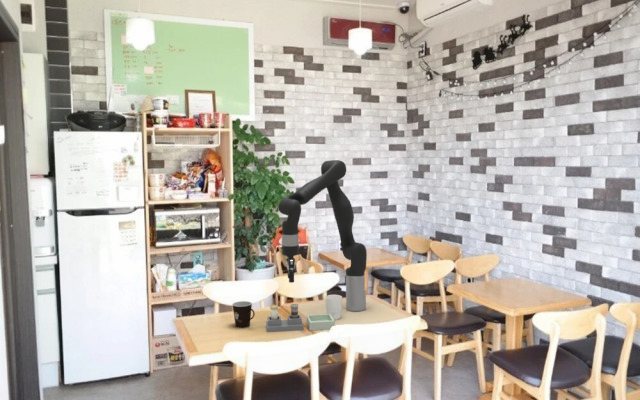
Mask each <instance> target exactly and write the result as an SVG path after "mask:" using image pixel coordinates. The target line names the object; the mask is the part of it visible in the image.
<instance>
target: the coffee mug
mask: <svg viewBox="0 0 640 400" xmlns="http://www.w3.org/2000/svg"><path fill="white" fill-rule="evenodd" d="M252 306H253V303H252V302H251V301H245V300H244V301H243V300H241V301H236V302H235V301H234V302H233V303H232V311H233V318H234V324H235V328H238V327H239V328H238V329H246V328H249V327H250V326H251V320H252V319H254V317H255V316H256V313H255V310H254V309H253V308H252ZM251 316H252V317H251ZM245 327H246V328H245Z"/></svg>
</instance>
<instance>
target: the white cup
mask: <svg viewBox="0 0 640 400" xmlns="http://www.w3.org/2000/svg"><path fill="white" fill-rule="evenodd" d="M324 298H325V312H326V314H331V316H332V317H333V319H334V321H336V320H339V319H341V318H342V310H343V309H342V308H343V296H342V295H339V294H329V295H326V296H325V297H324Z"/></svg>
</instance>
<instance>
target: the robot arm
mask: <svg viewBox="0 0 640 400" xmlns="http://www.w3.org/2000/svg"><path fill="white" fill-rule="evenodd" d="M320 172H321V175H319V176H318V177H316V178H314V179H312V180H310V181H308V182H307V183H305V184H304V185H302V186H301V187H300V188H299V189H297V191H295V192H293V193H291V194H288V195H287V196H286V197H284V198H282V200H281V201H280V202H279V204H278V207H277V208H278V211H279V213H281V214H282V215H287V218H286V220H284V221H283V222H282V225H281V254H282V256H284V257H285V256H286V258H285V263H286V265H285V267H286V270H287V278H288V283H293V284H294V283H295V273H296V270H295V269H296V258H294V256H298V255H299V254H300V251H299V250H300V240H299V238H300V237H299V222H300V217H301V214H302V205H306V204H308V203H309V202H310V201H312V199H314V198H315V197H316V196H317V195H318V194H319V193H321V192H322V191H324V190H325V189H326V190H327V192H328V196H329V200H330V204H331V206H332V211H333V215H334V219H335V222H336V226H337V229H338V234H339V239H340V245H341V251H342V254H343V257H344V258H345V259H346V260H349V261H350V266H349V267H347V268H346V269H345V305H346V306H345V309H346V310H347V311H349V312H362V311H365V310H367V296H366V294H367V292H366V289H365V287H366V284H365V283H366V280H365V278H366V277H365V274H366V273H365V272H366V269H367V261H368V260H367V255H368V254H367V253H368V251H367V248H366V246H365V245H364V244H363V243H360V242H357V241H355V237H354V234H353V233H354V232H353V225H354V218H355V214H354V210H353V205H352V203H351V201H350V200H349V198H348V196H347V195H346V193H345V192H344V191H343V190H342V188H341V187H340V184H339V180H341V179H342V178H344V177H346V174H347V166H346V163H345V162H344V161H343V160H340V159H339V160H338V159H335V160H334V159H333V160H326V161H323V163H321V167H320Z"/></svg>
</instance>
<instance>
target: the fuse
mask: <svg viewBox="0 0 640 400" xmlns="http://www.w3.org/2000/svg"><path fill="white" fill-rule="evenodd" d="M269 308H270V317H271V320H278V316H279V313H278V309H279V306H278V305H277V304H271V305H270V306H269Z"/></svg>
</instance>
